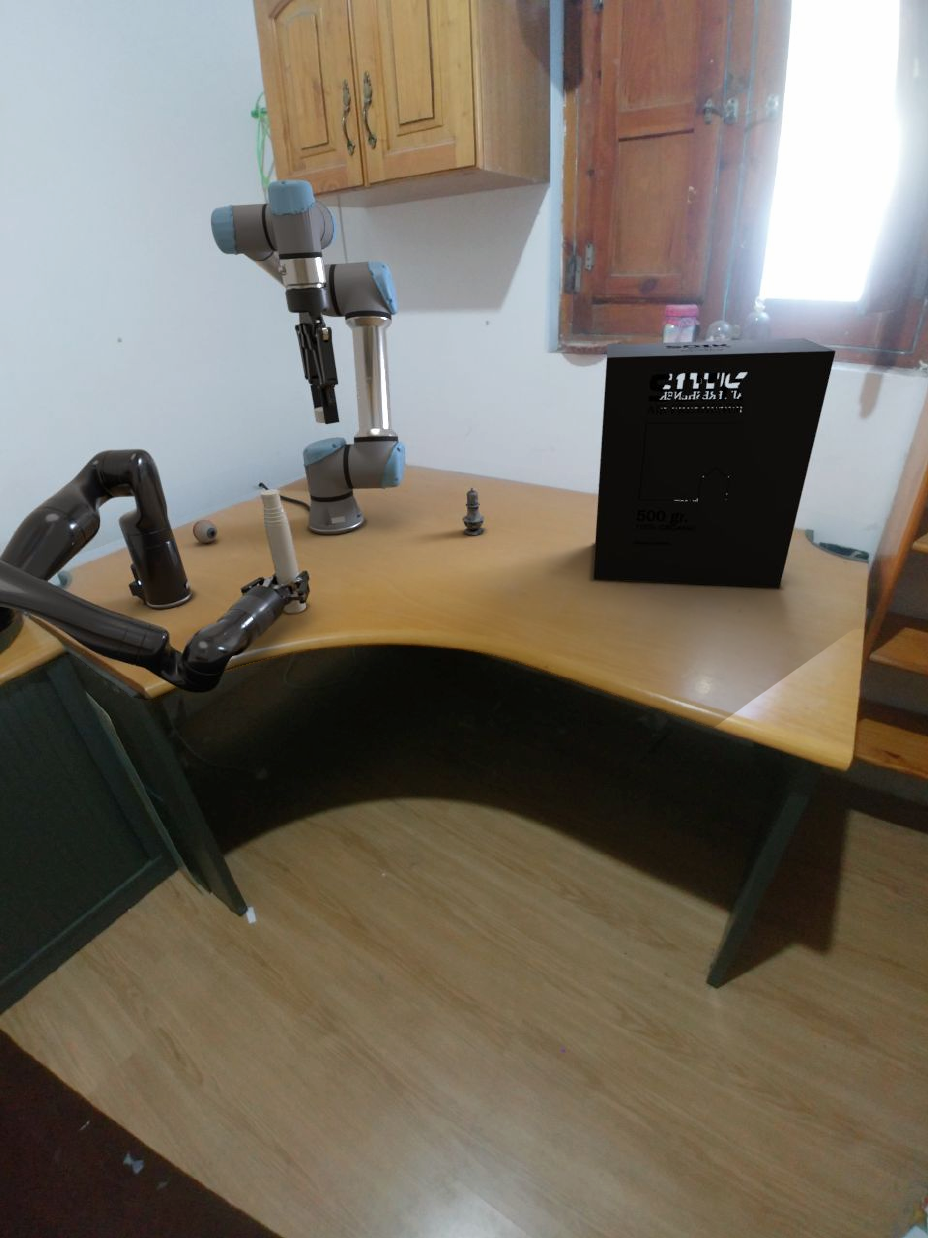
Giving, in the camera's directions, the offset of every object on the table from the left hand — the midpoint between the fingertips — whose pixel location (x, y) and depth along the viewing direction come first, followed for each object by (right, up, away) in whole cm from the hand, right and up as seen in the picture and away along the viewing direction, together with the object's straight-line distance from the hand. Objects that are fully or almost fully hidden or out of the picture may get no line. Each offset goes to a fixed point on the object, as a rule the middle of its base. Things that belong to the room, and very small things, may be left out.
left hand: (294, 574), depth 127 cm
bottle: (0, -7, +1) cm, 7 cm away
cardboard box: (+84, +3, +10) cm, 85 cm away
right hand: (+9, +30, -7) cm, 32 cm away
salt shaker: (+38, +14, +33) cm, 53 cm away
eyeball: (-34, +11, +36) cm, 51 cm away
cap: (+8, +32, -8) cm, 34 cm away
